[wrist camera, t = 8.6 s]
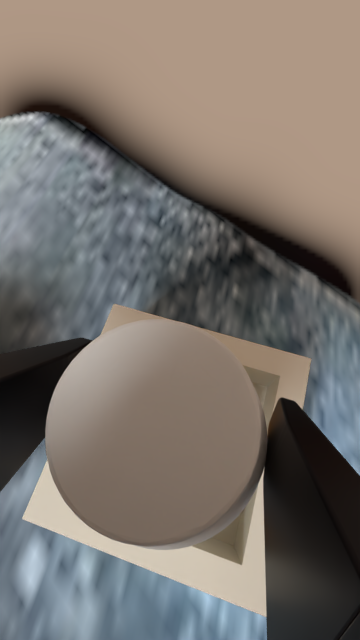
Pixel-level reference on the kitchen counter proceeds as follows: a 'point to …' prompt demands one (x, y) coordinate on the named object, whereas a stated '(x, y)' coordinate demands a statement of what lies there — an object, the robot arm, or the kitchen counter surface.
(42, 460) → the kitchen counter surface
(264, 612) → the cream square tray
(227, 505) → the supplement bottle
